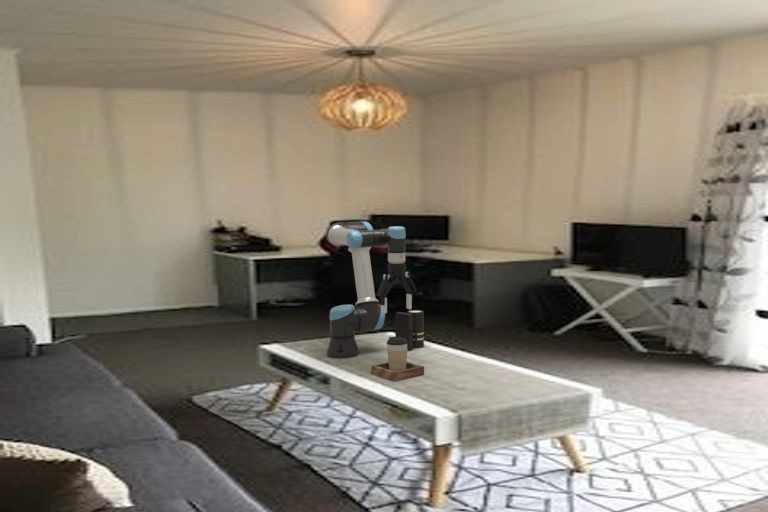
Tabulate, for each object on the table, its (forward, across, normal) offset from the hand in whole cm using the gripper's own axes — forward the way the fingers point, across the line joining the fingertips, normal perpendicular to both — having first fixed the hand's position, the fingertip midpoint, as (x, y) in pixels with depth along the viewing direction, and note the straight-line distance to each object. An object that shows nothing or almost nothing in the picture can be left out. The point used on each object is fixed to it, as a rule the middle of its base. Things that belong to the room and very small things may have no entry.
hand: (396, 310), depth 302 cm
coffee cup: (+24, -6, -9) cm, 27 cm away
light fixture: (+27, +30, +27) cm, 48 cm away
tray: (+25, -6, -9) cm, 27 cm away
